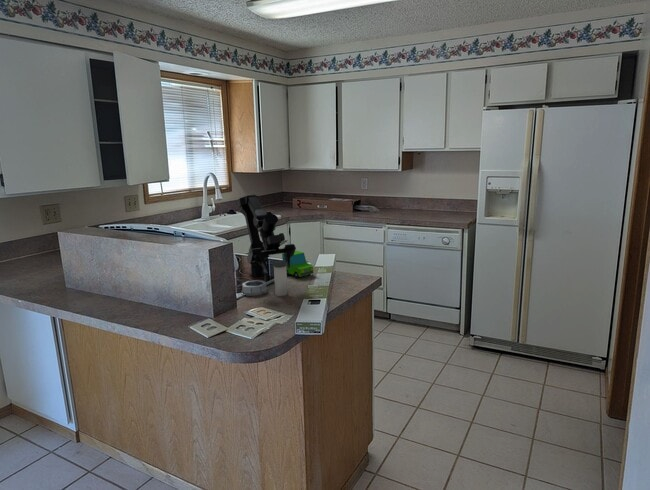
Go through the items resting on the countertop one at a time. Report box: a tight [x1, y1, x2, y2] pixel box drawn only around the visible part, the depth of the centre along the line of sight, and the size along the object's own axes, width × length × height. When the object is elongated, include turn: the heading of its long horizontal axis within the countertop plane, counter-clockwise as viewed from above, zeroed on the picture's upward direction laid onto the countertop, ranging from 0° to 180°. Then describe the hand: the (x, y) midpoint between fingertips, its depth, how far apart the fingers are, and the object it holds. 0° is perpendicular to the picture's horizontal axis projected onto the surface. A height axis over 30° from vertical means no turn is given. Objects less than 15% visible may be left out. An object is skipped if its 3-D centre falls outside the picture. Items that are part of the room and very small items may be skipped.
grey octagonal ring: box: [240, 279, 269, 297], centre depth 186 cm, size 11×11×4 cm
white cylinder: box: [272, 261, 289, 297], centre depth 181 cm, size 5×5×13 cm
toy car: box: [281, 250, 314, 279], centre depth 208 cm, size 10×13×10 cm
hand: (278, 269), depth 182 cm, fingers open, 9 cm apart
